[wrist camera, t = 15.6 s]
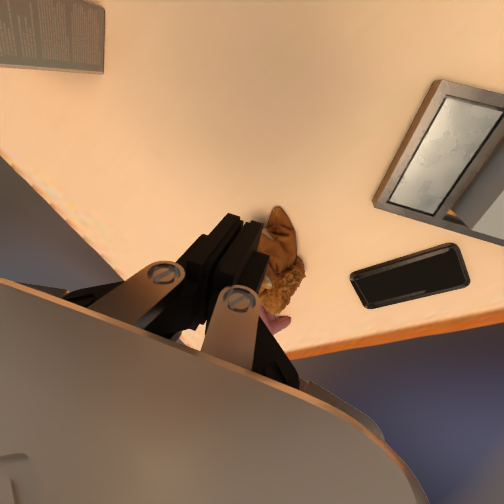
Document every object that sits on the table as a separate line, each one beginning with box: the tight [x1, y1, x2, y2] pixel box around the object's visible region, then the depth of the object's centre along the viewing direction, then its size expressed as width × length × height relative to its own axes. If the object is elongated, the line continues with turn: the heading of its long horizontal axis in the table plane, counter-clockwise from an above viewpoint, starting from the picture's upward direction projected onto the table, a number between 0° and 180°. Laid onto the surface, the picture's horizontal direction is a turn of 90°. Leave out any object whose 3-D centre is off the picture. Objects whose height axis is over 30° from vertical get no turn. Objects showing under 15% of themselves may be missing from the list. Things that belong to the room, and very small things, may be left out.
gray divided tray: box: [372, 80, 504, 246], centre depth 29 cm, size 14×22×3 cm, turn 78°
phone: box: [350, 243, 470, 309], centre depth 39 cm, size 8×1×15 cm
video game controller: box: [259, 303, 291, 335], centre depth 48 cm, size 10×5×7 cm, turn 24°
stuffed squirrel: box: [257, 207, 306, 315], centre depth 38 cm, size 10×14×13 cm
